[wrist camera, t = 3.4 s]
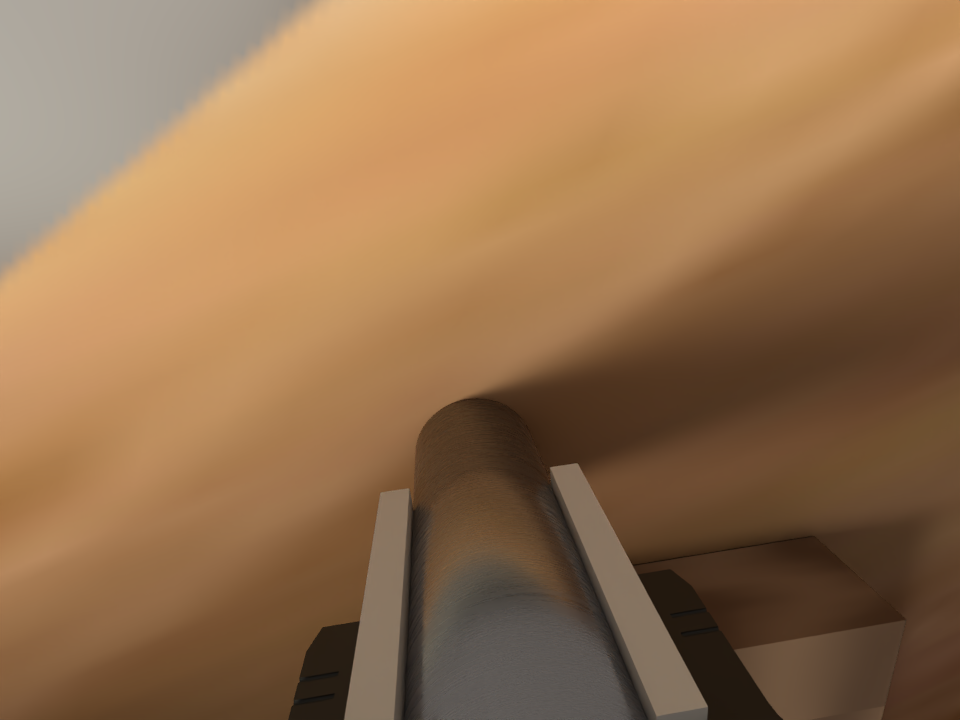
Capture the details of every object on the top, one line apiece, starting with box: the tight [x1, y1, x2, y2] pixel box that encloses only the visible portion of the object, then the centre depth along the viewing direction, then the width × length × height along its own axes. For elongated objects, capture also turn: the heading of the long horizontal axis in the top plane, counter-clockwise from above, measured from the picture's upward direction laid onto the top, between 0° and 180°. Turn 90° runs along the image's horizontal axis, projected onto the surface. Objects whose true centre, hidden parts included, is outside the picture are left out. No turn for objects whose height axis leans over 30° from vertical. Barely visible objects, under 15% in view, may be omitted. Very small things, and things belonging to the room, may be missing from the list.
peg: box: [404, 399, 648, 720], centre depth 11 cm, size 4×4×12 cm
